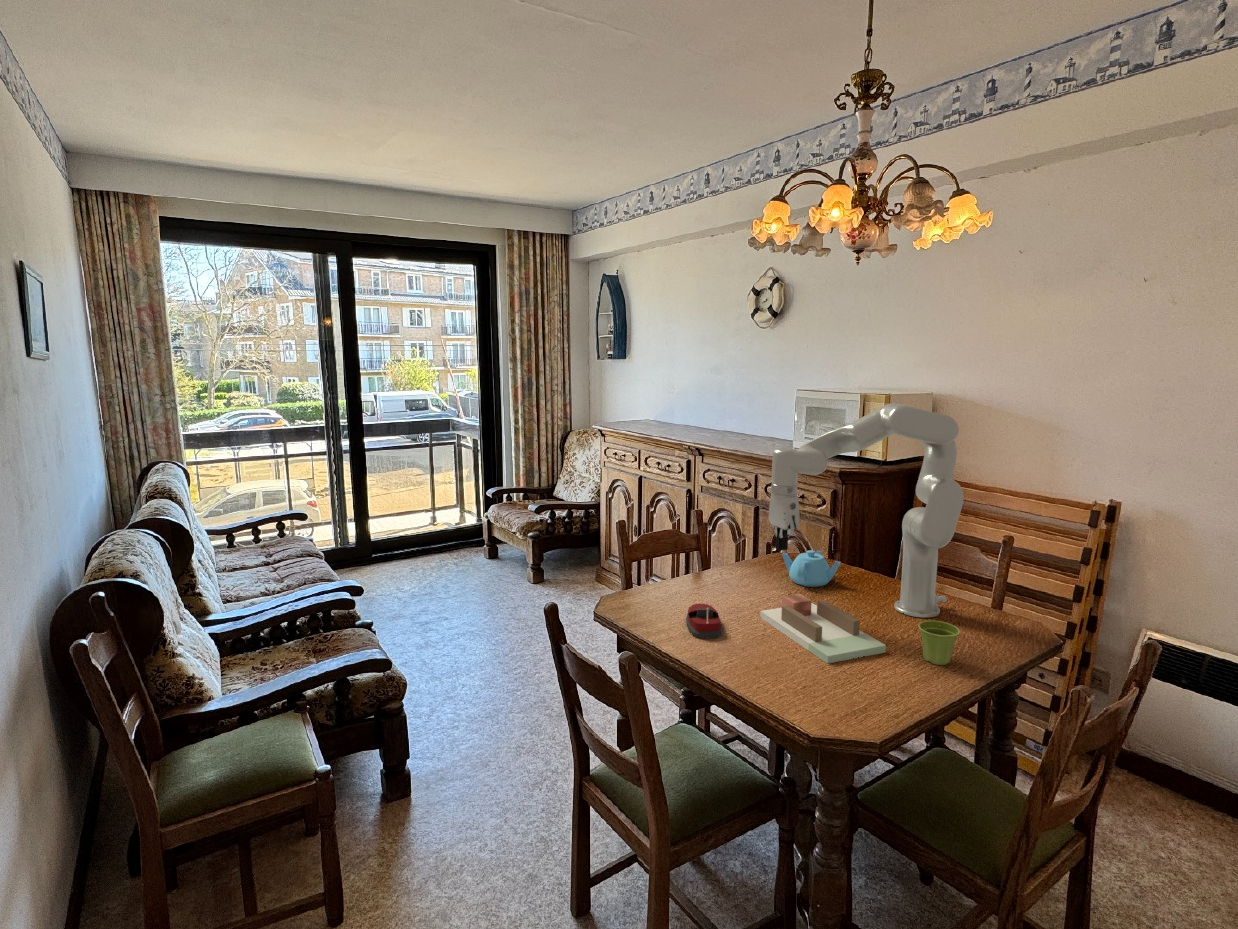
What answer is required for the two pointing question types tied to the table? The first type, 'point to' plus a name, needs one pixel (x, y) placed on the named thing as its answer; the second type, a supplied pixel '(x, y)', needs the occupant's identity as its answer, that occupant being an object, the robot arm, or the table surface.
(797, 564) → the teapot
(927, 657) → the plant pot
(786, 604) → the block
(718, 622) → the bumper car
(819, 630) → the board with rails
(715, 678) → the table surface
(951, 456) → the robot arm
